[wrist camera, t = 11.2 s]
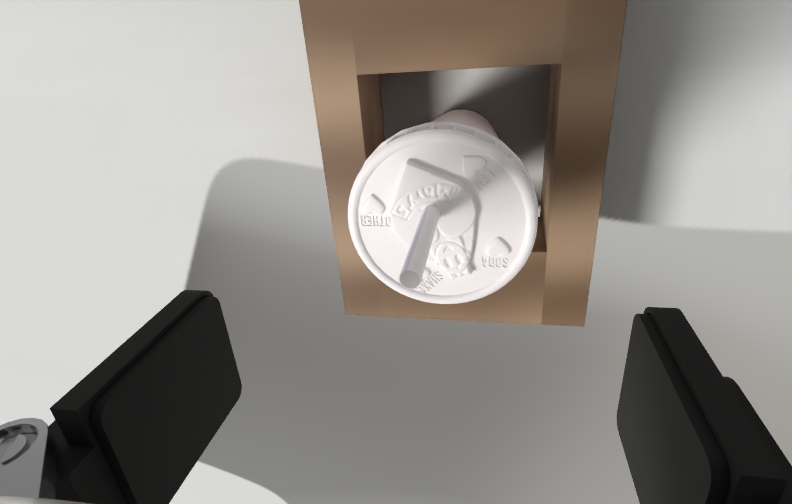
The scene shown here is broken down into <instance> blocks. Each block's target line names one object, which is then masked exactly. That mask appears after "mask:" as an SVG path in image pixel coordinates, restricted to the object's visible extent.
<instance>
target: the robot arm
mask: <svg viewBox="0 0 792 504" xmlns="http://www.w3.org/2000/svg"><path fill="white" fill-rule="evenodd" d="M241 387H242V385H241V380H240V377H239V373H238V370H237V366H236V362H235V358H234V354H233V351H232V347H231V344H230V340H229V336H228V332H227V328H226V325H225V321H224V317H223V313H222V310H221V306H220V302H219V300H218V299H217V298H216V297H213V295H212V293H211V292H209V291H198V290H184V291H183V292H181V293H180V294H179V295H178V296H176V297H175V298H174V299H173V300H172V301H171V302H170V303H169V304H167V305H166V306H165V307H164V308H163V309H162V310H161V311H159V312H158V313H157V314H156V315H155V316H154V317H153V318H152V319H150V320H149V321H148V322H147V323H146V324H145V325H144V326H143V327H141V328H140V329H139V330H138V331H137V332H136V333H135V334H133V335H132V336H131V337H130V338H129V339H128V340H127V341H126V342H124V343H123V344H122V345H121V346H120V347H119V348H118V349H116V350H115V351H114V352H113V353H112V354H111V355H110V356H109V357H107V358H106V359H105V360H104V361H103V362H102V363H101V364H99V365H98V366H97V367H96V368H95V369H94V370H93V371H92V372H90V373H89V374H88V375H87V376H86V377H85V378H84V379H82V380H81V381H80V382H79V383H78V384H77V385H76V386H75V387H73V388H72V389H71V390H70V391H69V392H68V393H67V394H65V395H64V396H63V397H62V398H61V399H60V400H59V401H58V402H56V403H55V404H54V405H53V406H52V407H51V408H50V410H51V412H52V414H53V416H54V418H55V421H54V422H53V423H52V424H51V425H50V426H49V427H48V425H47V424H46V423H45V422H44V421H43V420H41V419H36V418H25V419H19V420H15V421H11V422H8V423H5V424H3V425H0V504H169V502H170V501H171V499H172V498H173V496H174V495H175V493H176V492H177V490H178V489H179V487H180V486H181V484H182V483H183V481H184V480H185V478H186V477H187V475H188V474H189V472H190V471H191V469H192V468H193V466H194V465H195V464H196V462H197V461H198V459H199V457H200V456H201V455H202V453H203V452H204V450H205V448H206V447H207V445H208V444H209V442H210V441H211V440H212V438H213V436H214V435H215V433H216V432H217V430H218V429H219V427H220V426H221V425H222V423H223V421H224V420H225V418H226V417H227V415H228V414H229V412H230V411H231V409H232V408H233V407H234V405H235V404H236V402H237V400H238V399H239V397H240V394H241ZM617 426H618V431H619V435H620V438H621V442H622V444H623V448H624V452H625V455H626V458H627V461H628V465H629V468H630V472H631V475H632V478H633V482H634V485H635V488H636V492H637V495H638V498H639V502H640V504H792V466H791V464H790V463H789V461H788V460H787V458H786V457H785V455H784V454H783V452H782V451H781V450H780V448H779V446H778V445H777V444H776V442H775V440H774V439H773V437H772V436H771V434H770V433H769V431H768V430H767V428H766V427H765V425H764V424H763V422H762V421H761V419H760V418H759V416H758V414H757V413H756V412H755V410H754V408H753V407H752V405H751V404H750V402H749V401H748V399H747V398H746V396H745V395H744V393H743V392H742V390H741V389H740V387H739V386H738V385H737V383H736V382H735V381H734V380H733V379H731V378H729V377H723V376H722V375H721V373H720V372H719V370H718V368H717V367H716V365H715V364H714V362H713V360H712V359H711V357H710V356H709V354H708V353H707V351H706V349H705V348H704V346H703V345H702V343H701V342H700V340H699V339H698V337H697V335H696V334H695V332H694V330H693V329H692V327H691V326H690V324H689V323H688V321H687V320H686V318H685V316H684V315H683V313H682V312H681V310H680V309H677V308H657V307H647V308H646V309H645V311H644V314H636V315H635V317H634V320H633V325H632V331H631V336H630V342H629V348H628V354H627V359H626V365H625V371H624V376H623V382H622V388H621V393H620V399H619V405H618V411H617Z"/></svg>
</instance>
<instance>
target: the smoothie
mask: <svg viewBox="0 0 792 504" xmlns="http://www.w3.org/2000/svg"><path fill="white" fill-rule="evenodd" d="M537 214H538V202H537V197H536V193H535V188H534V184H533V180H532V179H531V177H530V175H529V173H528V172H527V170H526V168H525V166H524V164H523V163H522V161H521V159H520V158H519V157H518V156H517V155H516V154H515V153H514V152H513V151H512V150H511V149H510V148H509V147H508V146H507V145H506V144H505V143H504V142H502V141H501V140H499V138H498V136H497V134H496V132H495V131H494V129H493V127H492V125H491V124H490V123H489V122H488V120H487V119H485V118H484V117H483V116H482V115H480V114H478V113H476V112H473V111H470V110H464V109H459V110H452V111H449V112H446V113H444V114H442V115H441V116H439V117H438V118H436V119H434V120H433V121H431V122H430V123H424V124H420V125H417V126H414V127H410V128H407V129H404V130H401V131H400V132H398V133H396V134H395V135H393V136H392V137H390V138H389V139H387V140H385V141H384V142H382V143H381V144H380V145H379V146H378V147H377V148H376V150H375V151H374V152H373V153H372V154H371V155H370V156H369V157H368V159H367V160H366V161H365V163H364V165H363V167H362V169H361V170H360V172H359V174H358V175H357V177H356V179H355V181H354V184H353V187H352V189H351V193H350V197H349V203H348V224H349V230H350V234H351V238H352V241H353V243H354V246H355V248H356V250H357V252H358V254H359V256H360V257H361V259H362V260H363V262H364V263H365V265H366V266H367V267H368V268H369V270H370V271H371V272H372V273H373V274H374V275H375V276H376V277H377V278H378V279H379V280H381V281H382V282H383V283H385V284H386V285H387V286H389V287H390V288H392V289H393V290H395V291H397V292H399V293H401V294H403V295H405V296H408V297H410V298H413V299H416V300H420V301H424V302H429V303H437V304H457V303H464V302H469V301H473V300H477V299H479V298H482V297H485V296H487V295H489V294H491V293H493V292H495V291H497V290H498V289H500V288H501V287H503V286H504V285H506V284H507V283H508V282H509V281H510V280H512V279H513V278H514V276H515V275H516V274H517V273H518V272H519V271H520V270H521V268H522V267H523V266H524V264H525V262H526V261H527V259H528V257H529V255H530V253H531V251H532V248H533V246H534V243H535V238H536V234H537V225H538V216H537Z"/></svg>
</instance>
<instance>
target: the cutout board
mask: <svg viewBox="0 0 792 504" xmlns="http://www.w3.org/2000/svg"><path fill="white" fill-rule="evenodd" d="M299 4H300V11H301V17H302V24H303V31H304V37H305V44H306V51H307V58H308V64H309V71H310V78H311V85H312V91H313V98H314V105H315V112H316V118H317V125H318V132H319V138H320V145H321V152H322V159H323V165H324V172H325V179H326V186H327V192H328V199H329V206H330V213H331V219H332V226H333V233H334V239H335V246H336V253H337V259H338V266H339V273H340V280H341V287H342V293H343V300H344V307H345V314H346V315H357V316H376V317H397V318H418V319H439V320H458V321H479V322H500V323H520V324H521V323H522V324H541V325H560V326H561V325H562V326H582V327H584V325H585V318H586V309H587V302H588V295H589V286H590V280H591V271H592V264H593V256H594V249H595V241H596V234H597V226H598V219H599V211H600V203H601V196H602V188H603V181H604V173H605V165H606V158H607V150H608V142H609V135H610V127H611V120H612V112H613V104H614V97H615V89H616V81H617V74H618V66H619V59H620V51H621V43H622V36H623V28H624V21H625V13H626V5H627V0H299ZM543 64H551V69H550V83H549V97H548V112H547V126H546V140H545V155H544V169H543V183H542V197H541V212H540V217H538V225H537V234H536V238H535V243H534V246H533V248H532V251H531V253H530V255H529V257H528V259H527V261H526V262H525V264H524V266H523V267H522V268H521V270H520V271H519V272H518V273H517V274H516V275H515V276H514V278H513V279H512V280H510V281H509V282H508V283H507V284H506V285H504V286H503V287H501V288H500V289H498V290H497V291H495V292H493V293H491V294H489V295H487V296H485V297H482V298H479V299H477V300H473V301H469V302H464V303H457V304H437V303H429V302H424V301H420V300H416V299H413V298H410V297H408V296H405V295H403V294H401V293H399V292H397V291H395V290H393V289H392V288H390V287H389V286H387V285H386V284H385V283H383V282H382V281H381V280H379V279H378V278H377V277H376V276H375V275H374V274H373V273H372V272H371V271H370V270H369V268H368V267H367V266H366V265H365V263H364V262H363V260H362V259H361V257H360V256H359V254H358V252H357V250H356V248H355V246H354V243H353V241H352V238H351V234H350V230H349V224H348V203H349V197H350V193H351V189H352V187H353V184H354V181H355V179H356V177H357V175H358V174H359V172H360V170H361V169H362V167H363V165H364V163H365V161H366V160H367V159H368V157H369V156H370V155H371V154H372V153H373V152H374V151H375V150H376V148H377V147H378V146H379V145H380V144H381V143H382V142H384V141H385V139H384V127H383V115H382V104H381V92H380V80H379V74H381V73H399V72H417V71H435V70H453V69H471V68H489V67H507V66H525V65H543Z"/></svg>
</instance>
